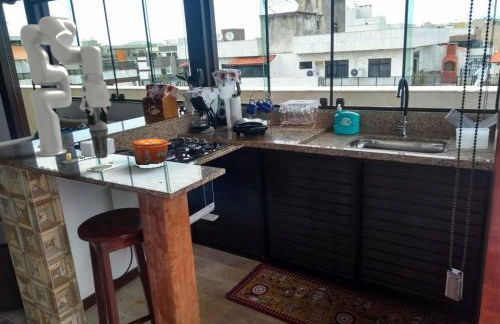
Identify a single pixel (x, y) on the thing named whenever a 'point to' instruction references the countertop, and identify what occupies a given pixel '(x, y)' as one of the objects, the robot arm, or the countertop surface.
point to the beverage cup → (99, 138)
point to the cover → (88, 148)
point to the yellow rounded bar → (69, 160)
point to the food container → (150, 151)
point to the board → (101, 166)
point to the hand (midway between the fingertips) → (97, 123)
